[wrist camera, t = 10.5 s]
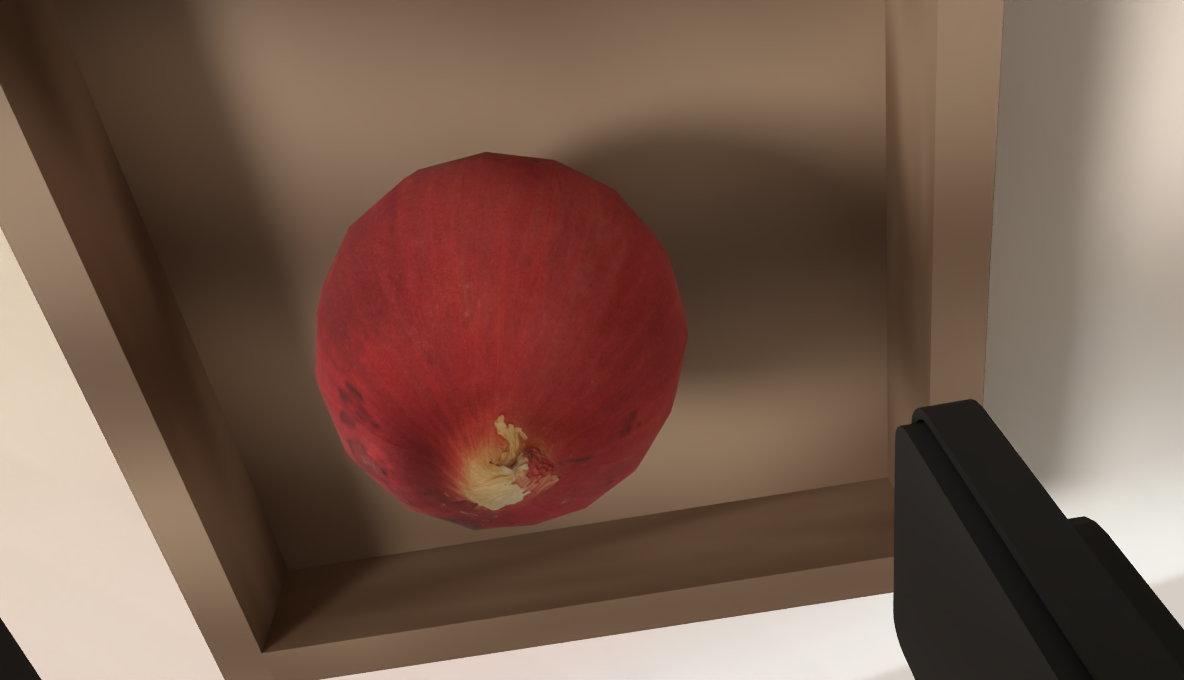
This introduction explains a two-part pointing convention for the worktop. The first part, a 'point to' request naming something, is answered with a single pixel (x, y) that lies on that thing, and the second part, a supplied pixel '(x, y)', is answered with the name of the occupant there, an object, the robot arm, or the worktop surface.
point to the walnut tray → (524, 128)
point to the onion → (499, 340)
